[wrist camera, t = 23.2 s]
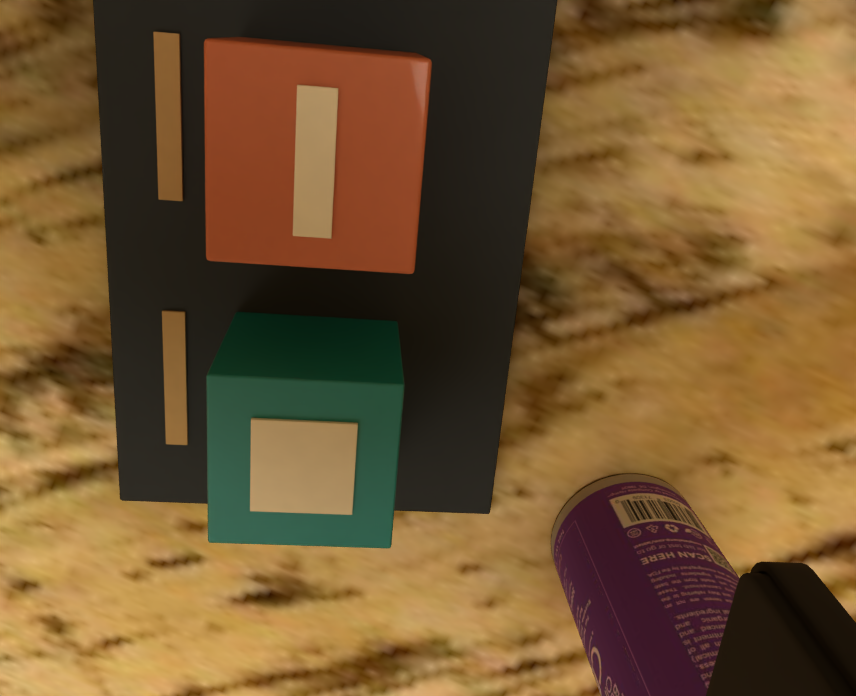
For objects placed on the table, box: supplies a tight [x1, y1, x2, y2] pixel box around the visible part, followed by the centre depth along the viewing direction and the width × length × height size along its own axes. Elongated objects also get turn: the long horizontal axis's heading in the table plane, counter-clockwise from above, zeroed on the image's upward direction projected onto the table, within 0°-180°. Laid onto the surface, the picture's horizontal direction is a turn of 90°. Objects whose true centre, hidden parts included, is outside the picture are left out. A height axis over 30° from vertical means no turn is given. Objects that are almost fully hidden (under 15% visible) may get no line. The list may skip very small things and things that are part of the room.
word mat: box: [93, 0, 557, 514], centre depth 21 cm, size 22×11×1 cm, turn 175°
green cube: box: [206, 312, 404, 548], centre depth 21 cm, size 4×4×4 cm
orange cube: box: [204, 37, 432, 274], centre depth 19 cm, size 4×4×4 cm
